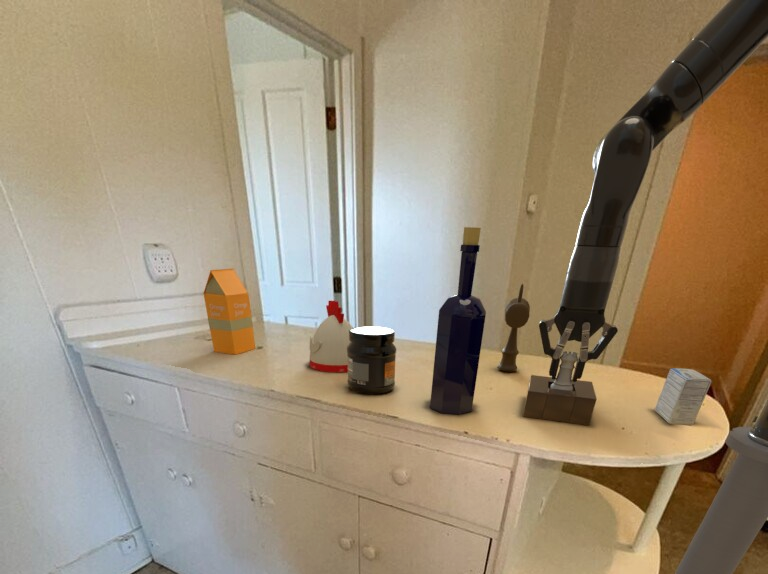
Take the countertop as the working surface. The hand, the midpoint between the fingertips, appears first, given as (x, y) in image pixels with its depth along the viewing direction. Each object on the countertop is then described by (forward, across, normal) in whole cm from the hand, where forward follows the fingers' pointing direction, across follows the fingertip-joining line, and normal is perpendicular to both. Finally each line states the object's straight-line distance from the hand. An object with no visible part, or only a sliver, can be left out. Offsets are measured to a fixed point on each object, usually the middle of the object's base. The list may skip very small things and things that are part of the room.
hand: (563, 379), depth 82 cm
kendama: (+7, -12, +28) cm, 31 cm away
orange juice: (+6, -87, +17) cm, 89 cm away
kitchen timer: (+6, -54, +14) cm, 56 cm away
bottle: (+6, -20, -6) cm, 22 cm away
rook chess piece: (+3, 0, 0) cm, 3 cm away
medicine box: (+7, +22, +5) cm, 23 cm away
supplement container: (+6, -39, -1) cm, 40 cm away
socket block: (+6, 0, 0) cm, 6 cm away
